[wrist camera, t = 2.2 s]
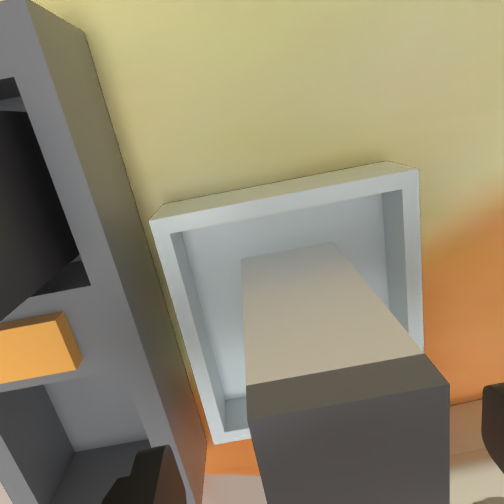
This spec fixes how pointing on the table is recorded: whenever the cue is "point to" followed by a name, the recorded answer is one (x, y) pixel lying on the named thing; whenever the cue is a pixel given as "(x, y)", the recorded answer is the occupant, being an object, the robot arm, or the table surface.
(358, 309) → the plug
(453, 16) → the table surface
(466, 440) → the electrical outlet
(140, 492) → the robot arm
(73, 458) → the power strip
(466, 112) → the table surface
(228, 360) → the tray
